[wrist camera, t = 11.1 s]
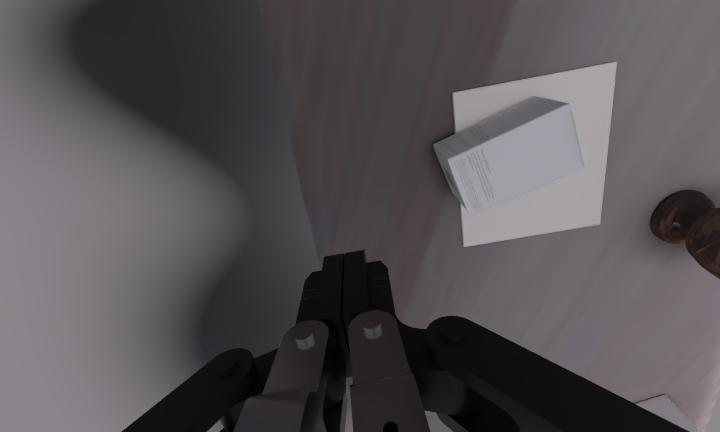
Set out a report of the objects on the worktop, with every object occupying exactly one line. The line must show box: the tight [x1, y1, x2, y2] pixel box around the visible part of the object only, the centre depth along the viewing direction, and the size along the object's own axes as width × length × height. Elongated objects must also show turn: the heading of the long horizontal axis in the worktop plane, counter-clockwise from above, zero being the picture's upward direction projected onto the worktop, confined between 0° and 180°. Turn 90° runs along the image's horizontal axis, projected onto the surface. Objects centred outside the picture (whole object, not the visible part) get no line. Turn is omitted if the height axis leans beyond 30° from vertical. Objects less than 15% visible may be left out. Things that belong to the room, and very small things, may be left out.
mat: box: [452, 62, 617, 247], centre depth 43 cm, size 20×18×1 cm
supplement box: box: [433, 96, 585, 216], centre depth 39 cm, size 7×7×13 cm
